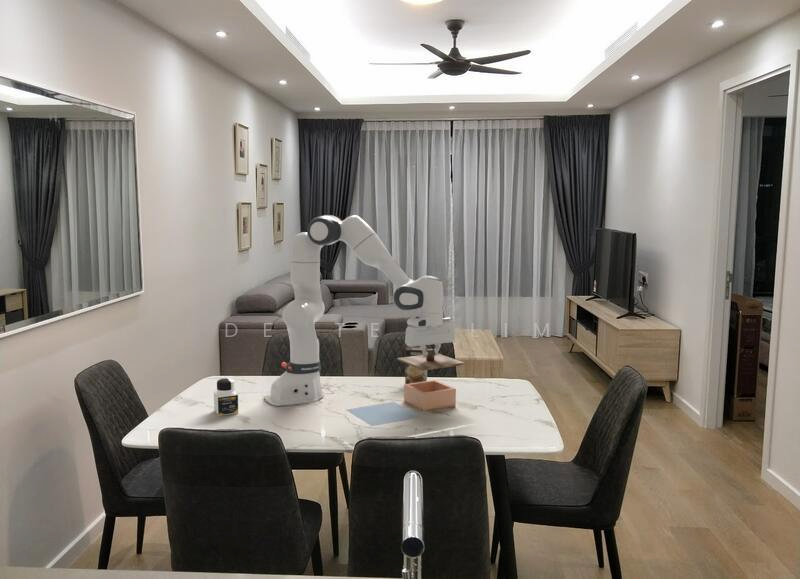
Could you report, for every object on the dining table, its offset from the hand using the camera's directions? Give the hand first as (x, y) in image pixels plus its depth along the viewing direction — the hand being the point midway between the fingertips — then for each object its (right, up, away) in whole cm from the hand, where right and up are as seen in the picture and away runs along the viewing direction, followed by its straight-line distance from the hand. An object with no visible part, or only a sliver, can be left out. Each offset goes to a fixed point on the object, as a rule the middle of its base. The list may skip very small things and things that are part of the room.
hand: (430, 355), depth 242 cm
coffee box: (-5, -16, +27) cm, 32 cm away
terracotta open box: (0, -19, +2) cm, 19 cm away
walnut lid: (0, -2, 0) cm, 2 cm away
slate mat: (-17, -20, -10) cm, 28 cm away
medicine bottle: (-74, -20, -9) cm, 77 cm away
